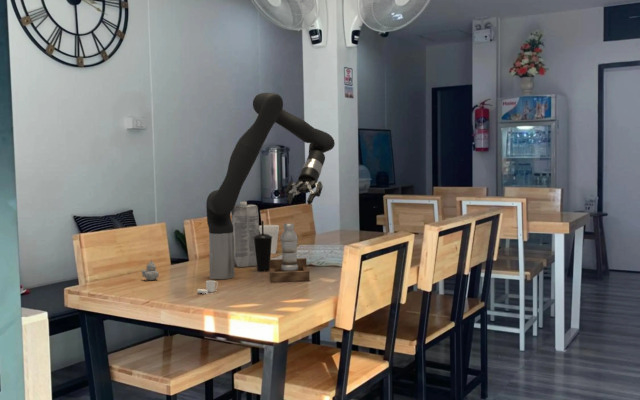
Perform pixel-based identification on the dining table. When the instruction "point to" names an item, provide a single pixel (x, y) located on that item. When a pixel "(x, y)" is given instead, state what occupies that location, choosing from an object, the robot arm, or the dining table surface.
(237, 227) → the juice carton
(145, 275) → the rubber duck
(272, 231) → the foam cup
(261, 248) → the drinking cup
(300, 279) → the drawer
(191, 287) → the dining table surface
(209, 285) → the teacup and saucer
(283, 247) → the plastic bottle
